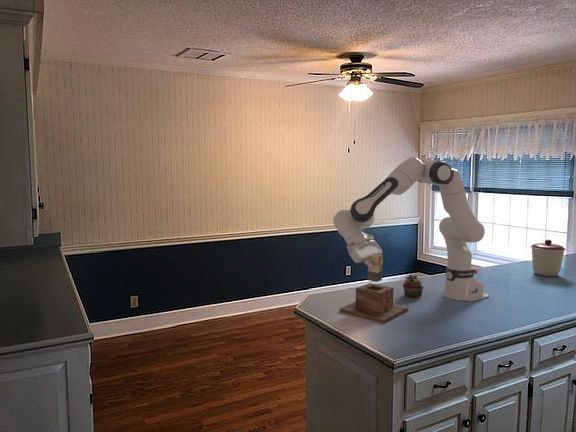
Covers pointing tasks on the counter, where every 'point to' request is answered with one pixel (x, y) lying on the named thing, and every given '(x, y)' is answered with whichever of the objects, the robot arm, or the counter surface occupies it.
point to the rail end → (375, 268)
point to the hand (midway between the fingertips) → (376, 266)
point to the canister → (547, 258)
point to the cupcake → (412, 287)
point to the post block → (374, 304)
